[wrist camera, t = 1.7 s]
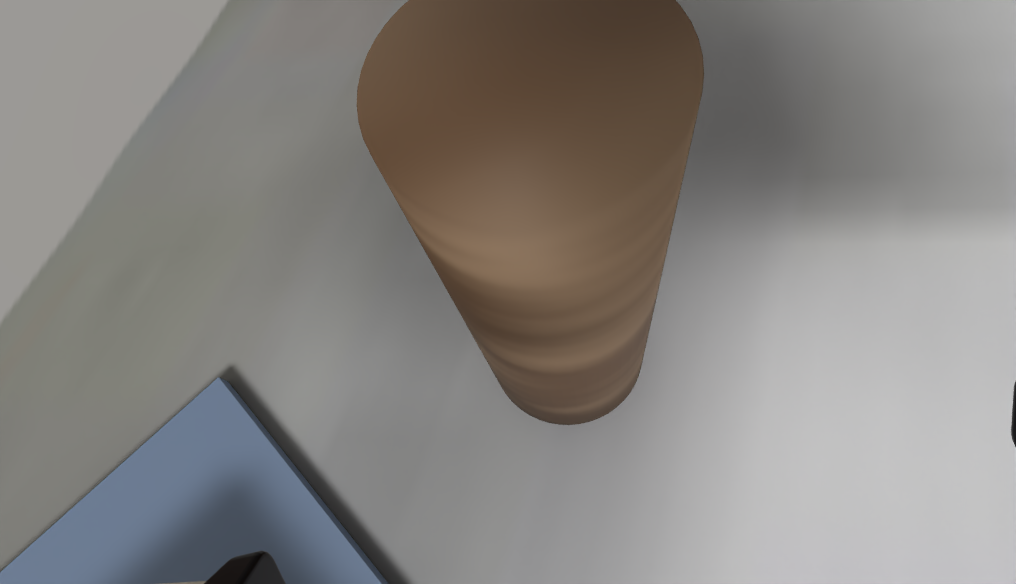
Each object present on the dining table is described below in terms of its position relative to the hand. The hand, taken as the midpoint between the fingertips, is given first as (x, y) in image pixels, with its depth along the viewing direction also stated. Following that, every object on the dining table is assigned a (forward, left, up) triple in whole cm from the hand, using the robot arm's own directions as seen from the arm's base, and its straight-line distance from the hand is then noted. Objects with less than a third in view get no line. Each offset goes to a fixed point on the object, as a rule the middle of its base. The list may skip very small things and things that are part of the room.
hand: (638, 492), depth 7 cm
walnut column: (+5, -3, -12) cm, 13 cm away
